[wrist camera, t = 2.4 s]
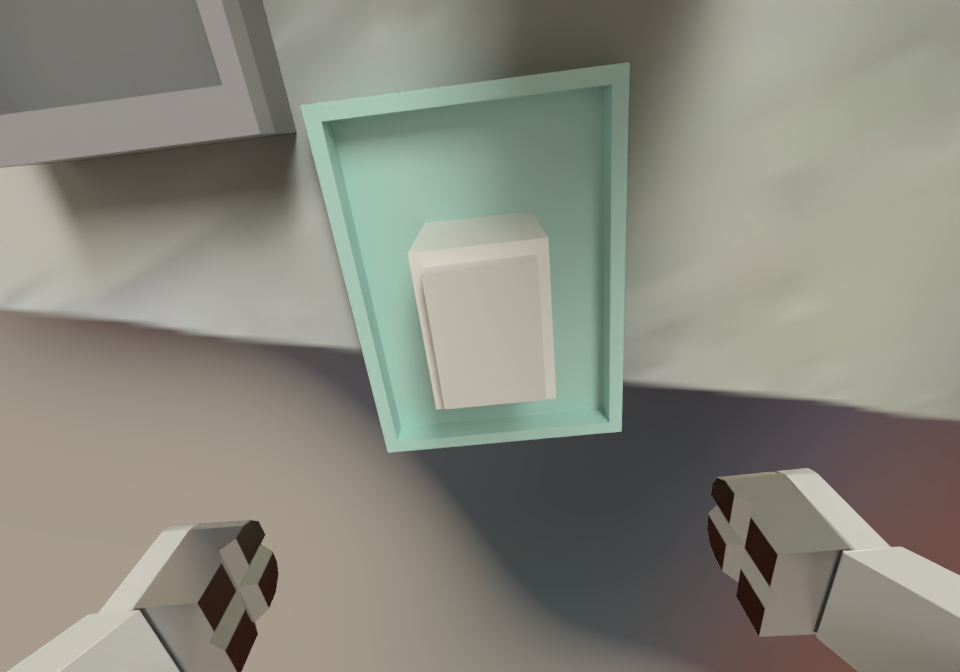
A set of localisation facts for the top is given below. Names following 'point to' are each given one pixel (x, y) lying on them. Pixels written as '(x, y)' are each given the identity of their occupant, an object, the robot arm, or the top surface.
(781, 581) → the robot arm
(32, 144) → the grey compartment holder
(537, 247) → the plug
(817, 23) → the top surface
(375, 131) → the tray
